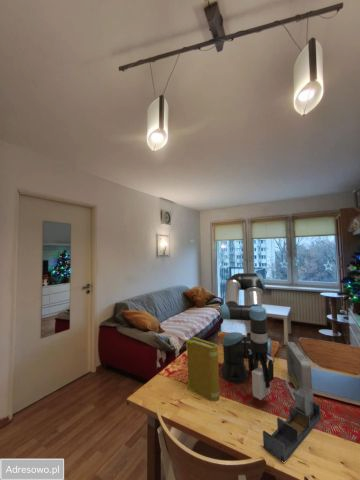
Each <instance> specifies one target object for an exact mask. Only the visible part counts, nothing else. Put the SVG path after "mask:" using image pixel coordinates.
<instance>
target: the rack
mask: <svg viewBox="0 0 360 480" xmlns="http://www.w3.org/2000/svg"><path fill="white" fill-rule="evenodd" d="M294 396H295V401H294V405H295V407H293V406H291V405H290V406H289V417H288V418H286V420H283V419H282V418H280V417H277V418H276V421H277V422H276V423H277V428H276V430H274V432H273V433H272V434H270V433H268V432H267V431H266V430H263V431H262V439H263V441H262V442H263V448H264V449H265V450H266V451H267V452H269V453H270V454H271V455H273V457H275V456H276V457H277V459H278V460H279V459H280V460H281V461H280V460H279V461H280V462H282V461H283V462H285V461H286V460H287V459H288V460H289V458H290V457H292V456H293V454H294V453H295V451H296V450H297V449H298V447H299V446H300V445H301V443H302V442H304V441H305V439H306V438H307V436H308V435H309V434H311V431H312V430H313V429H314V428H315V426H317V424H318V423H319V421H320V420H321V419H322V417H321V416H322V415H321V405H320V404H319V403H317V402H315V400H314V389H313V388H312V389H310V388H308V387H306V386H304V385H303V386H301V387H300V388H299V389H298V390H297V391H296V392H295V393H294ZM276 457H275V458H276ZM288 460H287V461H288ZM287 461H286V462H287ZM283 462H282V463H283ZM286 462H285V463H286Z"/></svg>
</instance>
